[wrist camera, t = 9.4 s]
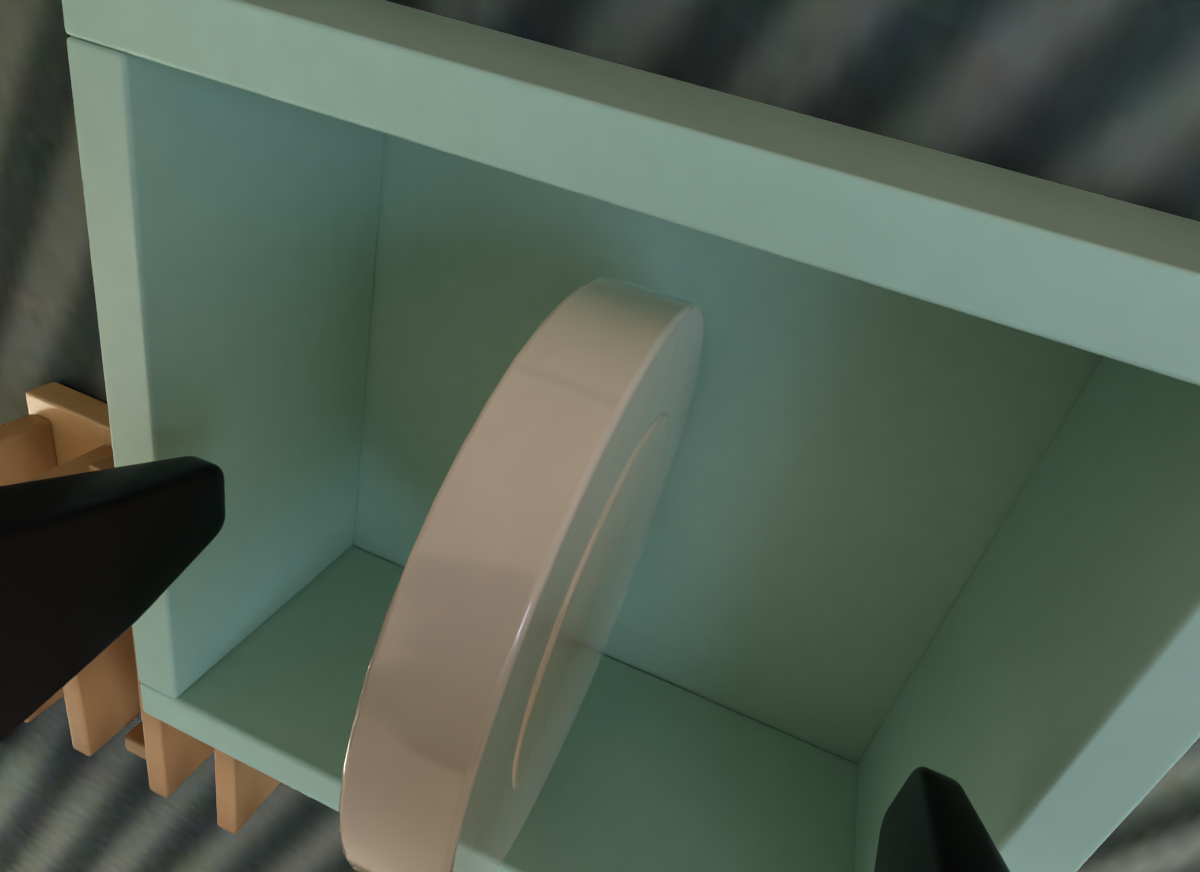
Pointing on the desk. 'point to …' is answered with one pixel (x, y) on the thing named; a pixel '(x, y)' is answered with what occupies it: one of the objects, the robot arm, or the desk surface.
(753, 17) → the desk surface
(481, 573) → the plate
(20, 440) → the dish rack
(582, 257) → the mint green open box
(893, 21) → the desk surface
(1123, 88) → the desk surface
